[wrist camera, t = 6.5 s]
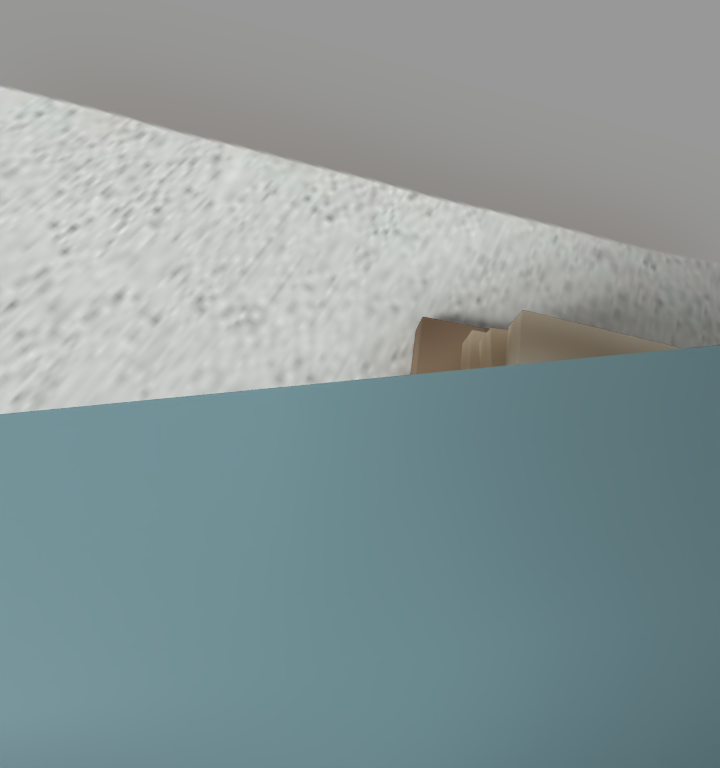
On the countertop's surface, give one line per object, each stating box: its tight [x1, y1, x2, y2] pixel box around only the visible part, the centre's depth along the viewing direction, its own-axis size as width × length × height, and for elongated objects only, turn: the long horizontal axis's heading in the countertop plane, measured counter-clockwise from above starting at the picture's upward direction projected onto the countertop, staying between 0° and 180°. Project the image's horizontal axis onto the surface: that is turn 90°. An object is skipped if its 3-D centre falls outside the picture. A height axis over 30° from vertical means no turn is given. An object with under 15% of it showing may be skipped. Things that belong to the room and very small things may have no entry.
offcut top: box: [505, 310, 684, 366], centre depth 20 cm, size 4×8×1 cm, turn 78°
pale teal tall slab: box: [0, 345, 720, 768], centre depth 9 cm, size 3×6×12 cm, turn 98°
